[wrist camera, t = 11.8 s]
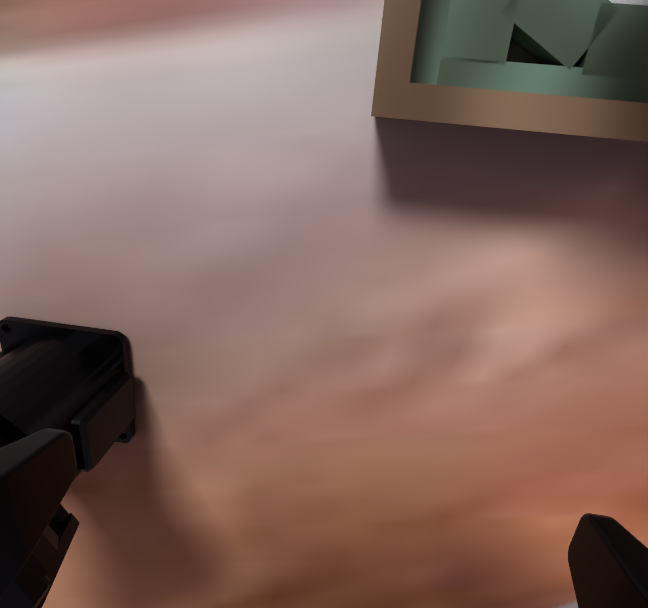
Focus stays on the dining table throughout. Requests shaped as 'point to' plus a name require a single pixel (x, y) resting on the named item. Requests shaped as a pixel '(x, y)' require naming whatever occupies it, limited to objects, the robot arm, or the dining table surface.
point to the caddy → (516, 65)
